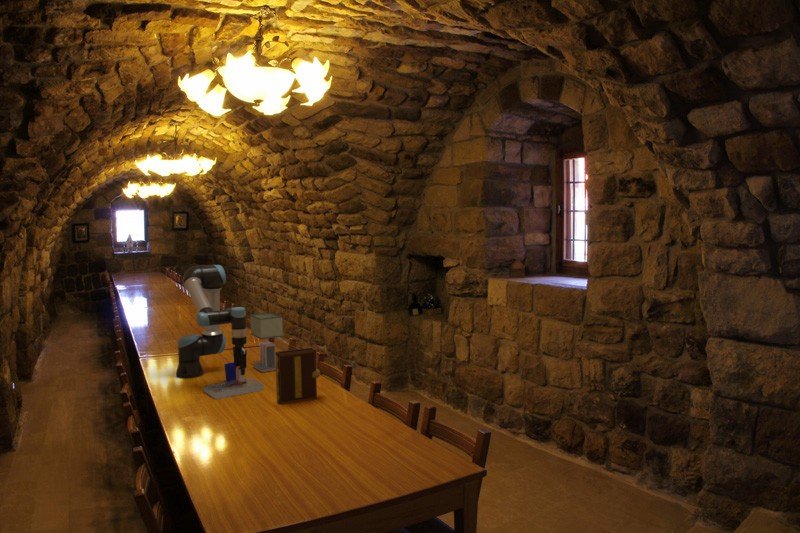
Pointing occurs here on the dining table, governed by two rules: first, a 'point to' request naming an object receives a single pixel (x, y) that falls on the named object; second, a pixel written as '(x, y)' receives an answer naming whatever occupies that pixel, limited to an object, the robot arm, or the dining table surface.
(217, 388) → the keyhole plate
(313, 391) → the book
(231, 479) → the dining table surface
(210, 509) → the dining table surface
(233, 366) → the mug
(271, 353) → the desk lamp
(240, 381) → the headed peg
